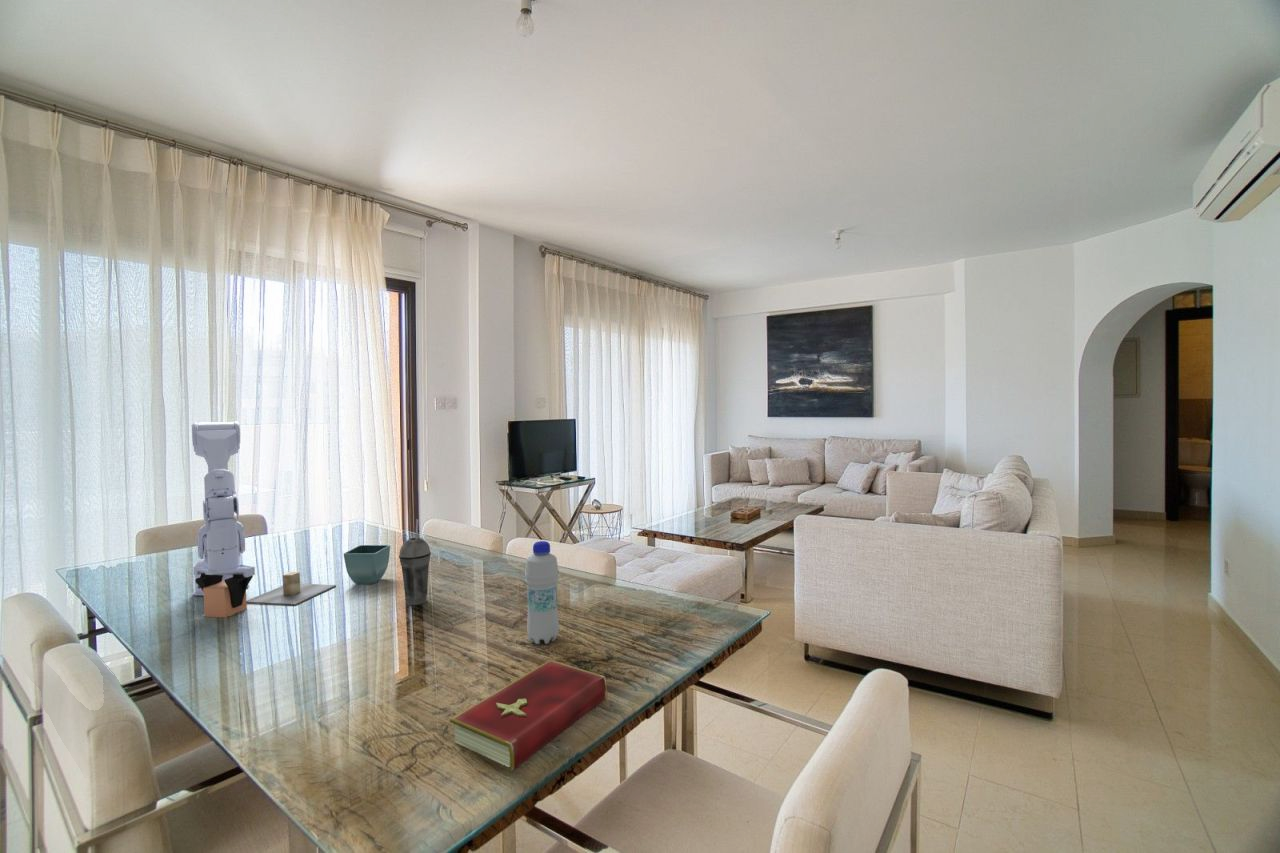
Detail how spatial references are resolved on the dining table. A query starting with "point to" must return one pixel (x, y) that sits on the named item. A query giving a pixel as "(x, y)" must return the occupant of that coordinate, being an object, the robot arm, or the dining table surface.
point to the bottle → (542, 594)
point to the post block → (290, 592)
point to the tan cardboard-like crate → (220, 601)
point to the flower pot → (367, 563)
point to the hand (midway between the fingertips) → (225, 605)
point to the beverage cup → (415, 568)
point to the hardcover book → (529, 712)
